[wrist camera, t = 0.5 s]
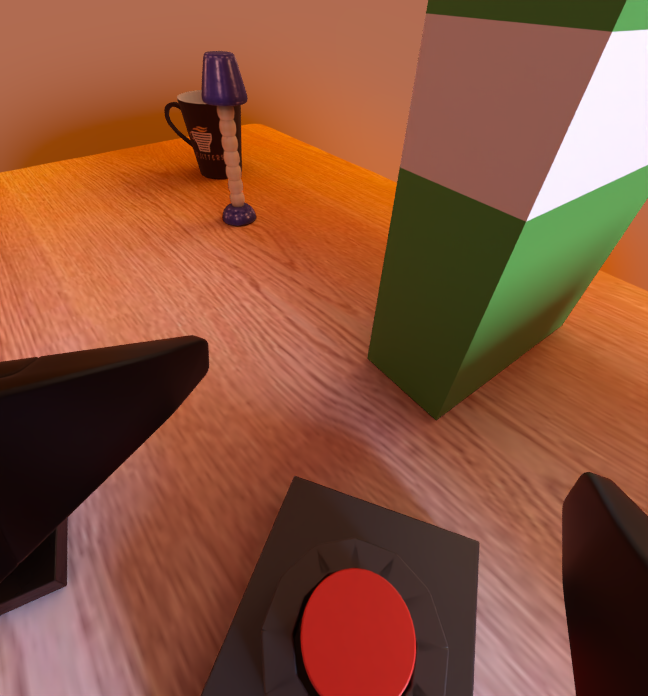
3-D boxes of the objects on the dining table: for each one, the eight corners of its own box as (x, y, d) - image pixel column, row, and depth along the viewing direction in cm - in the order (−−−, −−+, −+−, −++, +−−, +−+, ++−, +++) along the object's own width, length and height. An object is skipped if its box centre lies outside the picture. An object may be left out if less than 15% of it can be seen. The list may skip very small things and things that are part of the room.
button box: (439, 943, 12) (487, 1035, 8) (176, 785, 14) (135, 811, 11) (464, 555, 20) (494, 527, 16) (295, 493, 22) (293, 457, 19)
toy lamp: (223, 210, 48) (195, 48, 36) (258, 208, 49) (242, 49, 37) (222, 227, 45) (191, 55, 33) (260, 225, 45) (243, 56, 33)
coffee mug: (259, 172, 58) (252, 97, 51) (214, 186, 53) (200, 107, 46) (217, 153, 63) (205, 84, 56) (172, 165, 59) (153, 91, 52)
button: (394, 737, 12) (404, 742, 11) (284, 683, 13) (281, 681, 12) (413, 602, 15) (424, 591, 13) (321, 564, 16) (322, 551, 14)
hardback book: (493, 286, 38) (648, -61, 20) (561, 325, 34) (826, -67, 16) (367, 358, 30) (445, -103, 13) (436, 420, 26) (687, -134, 9)
